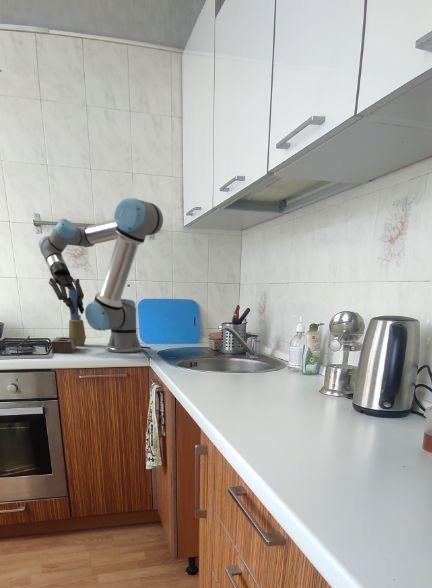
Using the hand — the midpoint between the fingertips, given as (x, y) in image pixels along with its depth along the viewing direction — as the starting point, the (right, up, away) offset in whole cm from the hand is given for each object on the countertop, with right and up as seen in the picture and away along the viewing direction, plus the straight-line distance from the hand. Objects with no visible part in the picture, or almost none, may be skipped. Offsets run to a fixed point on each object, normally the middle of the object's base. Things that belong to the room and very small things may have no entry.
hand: (78, 311), depth 197 cm
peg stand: (-11, -12, +17) cm, 24 cm away
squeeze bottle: (-10, -6, +34) cm, 36 cm away
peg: (-3, -2, +4) cm, 5 cm away
